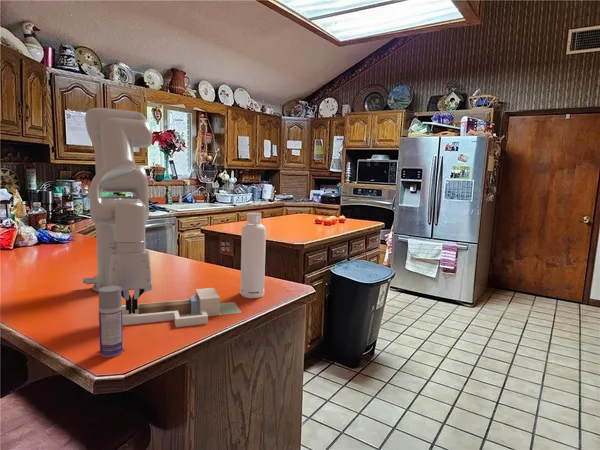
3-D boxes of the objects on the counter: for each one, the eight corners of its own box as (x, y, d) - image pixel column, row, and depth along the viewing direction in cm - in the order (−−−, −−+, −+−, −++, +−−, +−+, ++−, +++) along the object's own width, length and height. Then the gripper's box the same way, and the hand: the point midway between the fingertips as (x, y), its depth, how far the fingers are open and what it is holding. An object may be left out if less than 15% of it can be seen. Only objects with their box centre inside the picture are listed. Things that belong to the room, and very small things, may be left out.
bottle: (254, 299, 128) (256, 215, 125) (235, 295, 133) (236, 213, 129) (268, 293, 135) (271, 213, 132) (250, 289, 140) (252, 211, 136)
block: (191, 314, 112) (191, 301, 112) (189, 309, 117) (189, 296, 116) (209, 313, 114) (209, 299, 113) (206, 307, 118) (206, 294, 118)
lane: (118, 334, 98) (117, 313, 97) (120, 314, 112) (119, 295, 111) (246, 320, 111) (246, 301, 110) (234, 303, 124) (234, 286, 124)
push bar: (138, 319, 107) (138, 308, 107) (138, 315, 110) (138, 304, 110) (191, 314, 113) (191, 303, 112) (189, 310, 116) (189, 299, 115)
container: (105, 348, 91) (103, 285, 89) (126, 348, 91) (124, 285, 89) (96, 357, 86) (94, 291, 84) (118, 357, 86) (116, 292, 84)
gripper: (98, 250, 99) (100, 320, 102) (160, 248, 105) (161, 314, 107) (101, 245, 106) (103, 310, 109) (159, 243, 112) (160, 305, 114)
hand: (131, 312), depth 108 cm, fingers closed
